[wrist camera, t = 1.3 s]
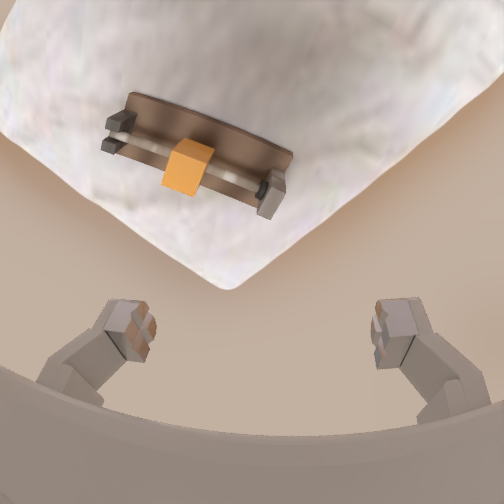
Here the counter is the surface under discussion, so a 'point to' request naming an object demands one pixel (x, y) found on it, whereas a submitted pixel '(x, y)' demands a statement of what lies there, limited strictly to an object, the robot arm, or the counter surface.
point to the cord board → (209, 134)
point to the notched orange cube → (187, 166)
